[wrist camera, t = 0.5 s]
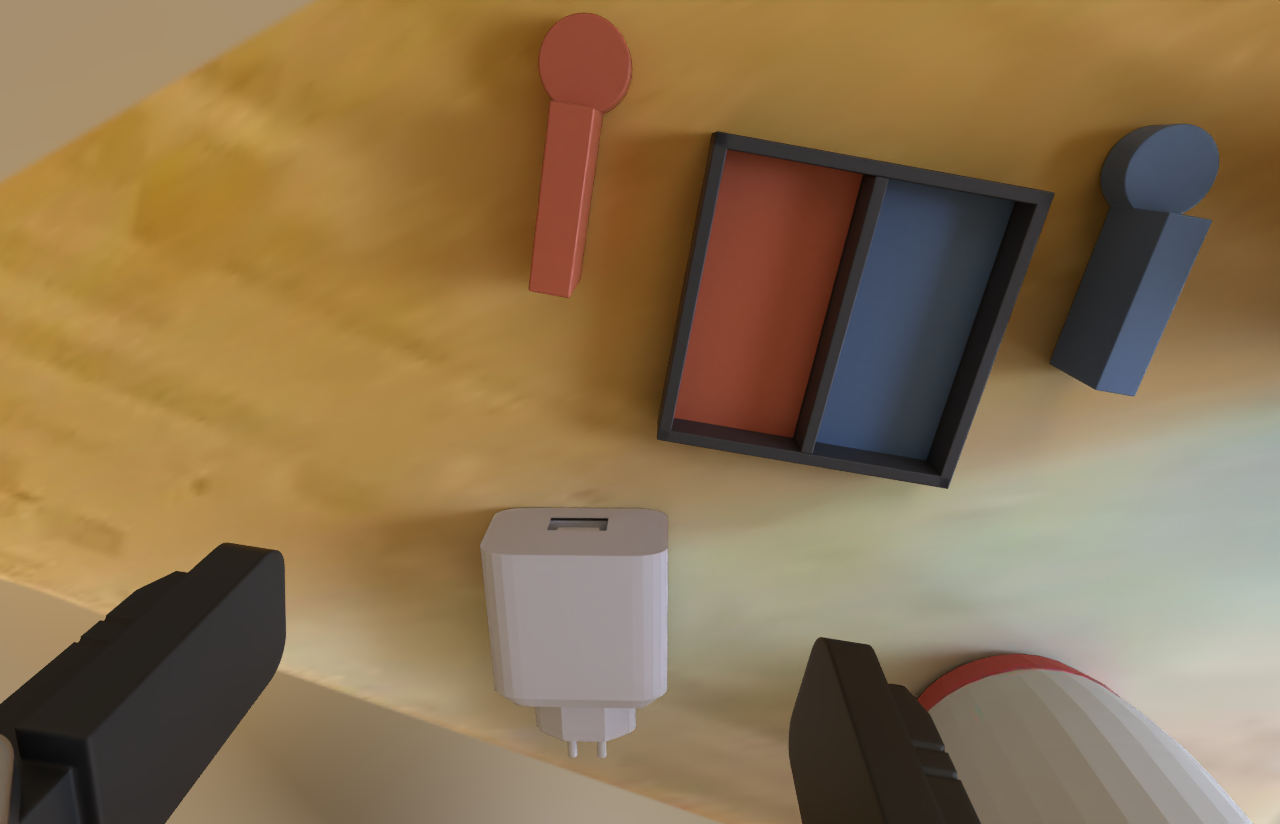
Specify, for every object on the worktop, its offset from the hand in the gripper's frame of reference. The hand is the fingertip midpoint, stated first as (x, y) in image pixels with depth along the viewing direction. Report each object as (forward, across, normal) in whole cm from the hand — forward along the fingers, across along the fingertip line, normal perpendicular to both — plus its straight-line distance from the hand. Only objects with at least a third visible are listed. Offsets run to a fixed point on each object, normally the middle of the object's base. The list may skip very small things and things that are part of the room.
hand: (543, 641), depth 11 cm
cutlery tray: (+25, -10, -1) cm, 27 cm away
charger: (+25, -1, +19) cm, 32 cm away
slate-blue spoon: (+25, -22, -6) cm, 34 cm away
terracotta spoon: (+25, +3, -6) cm, 26 cm away
